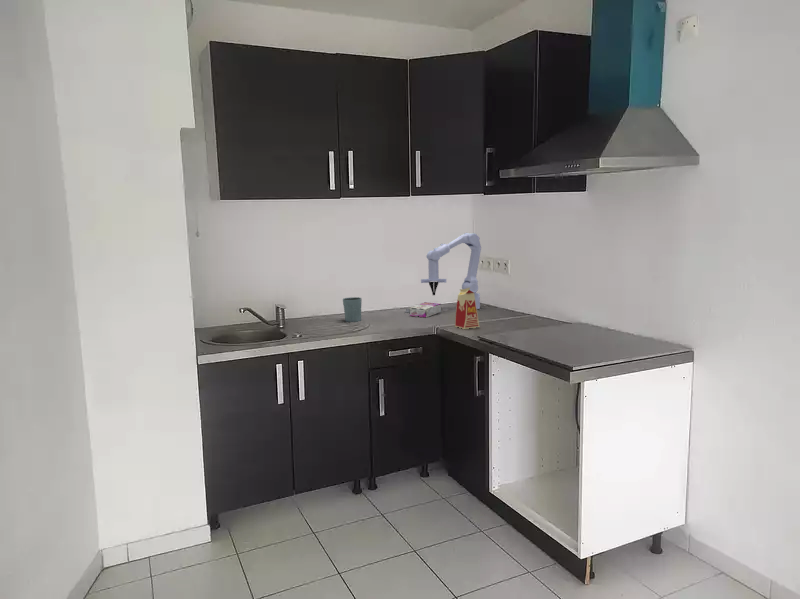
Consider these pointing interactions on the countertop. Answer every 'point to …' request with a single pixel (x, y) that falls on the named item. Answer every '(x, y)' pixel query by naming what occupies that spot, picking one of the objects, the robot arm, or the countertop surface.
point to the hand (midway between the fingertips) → (433, 295)
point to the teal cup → (352, 309)
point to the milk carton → (466, 310)
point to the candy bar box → (425, 309)
